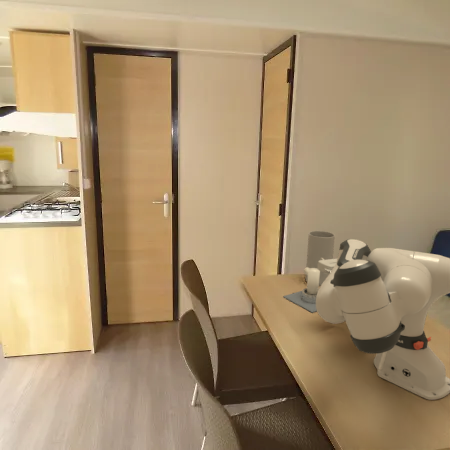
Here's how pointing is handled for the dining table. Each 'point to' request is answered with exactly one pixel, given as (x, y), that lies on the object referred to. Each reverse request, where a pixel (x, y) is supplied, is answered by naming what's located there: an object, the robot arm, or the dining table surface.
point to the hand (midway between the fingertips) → (331, 258)
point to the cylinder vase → (319, 250)
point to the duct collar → (308, 297)
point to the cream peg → (312, 280)
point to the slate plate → (301, 301)
